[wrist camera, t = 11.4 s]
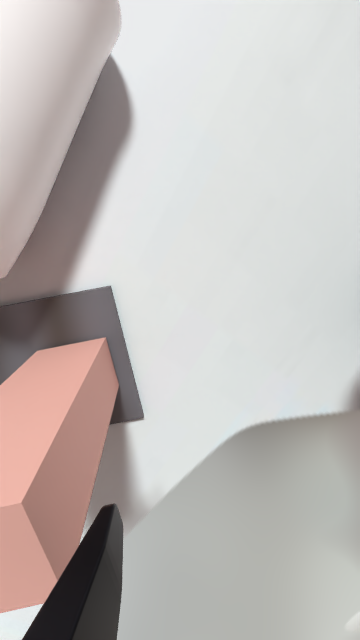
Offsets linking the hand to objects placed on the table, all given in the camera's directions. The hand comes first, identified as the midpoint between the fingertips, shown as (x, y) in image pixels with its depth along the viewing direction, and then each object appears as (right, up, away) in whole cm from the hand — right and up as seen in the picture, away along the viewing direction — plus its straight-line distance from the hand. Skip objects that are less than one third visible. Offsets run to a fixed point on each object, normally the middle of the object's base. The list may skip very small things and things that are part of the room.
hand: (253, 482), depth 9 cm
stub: (-10, +2, +12) cm, 16 cm away
